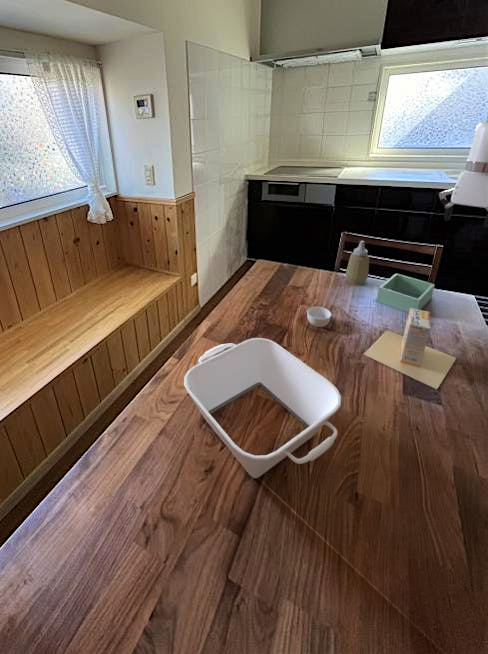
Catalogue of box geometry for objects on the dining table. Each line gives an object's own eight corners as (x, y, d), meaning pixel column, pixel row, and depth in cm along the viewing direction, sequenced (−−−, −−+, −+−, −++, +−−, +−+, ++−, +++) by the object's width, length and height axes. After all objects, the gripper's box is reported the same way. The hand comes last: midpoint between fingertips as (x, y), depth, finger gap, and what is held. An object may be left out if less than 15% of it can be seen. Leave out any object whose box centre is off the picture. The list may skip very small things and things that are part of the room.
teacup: (337, 334, 106) (339, 322, 104) (304, 333, 108) (305, 321, 106) (330, 316, 115) (331, 304, 113) (299, 315, 117) (300, 303, 115)
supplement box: (400, 344, 99) (409, 307, 93) (419, 349, 96) (430, 311, 91) (399, 362, 92) (409, 323, 87) (420, 368, 90) (431, 328, 84)
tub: (360, 453, 71) (370, 409, 65) (266, 536, 58) (269, 490, 53) (251, 361, 97) (252, 325, 92) (171, 405, 85) (167, 366, 80)
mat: (455, 360, 93) (456, 358, 92) (436, 392, 84) (437, 389, 83) (386, 332, 106) (386, 329, 105) (362, 356, 96) (363, 354, 96)
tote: (430, 300, 120) (434, 284, 117) (415, 317, 112) (419, 300, 109) (392, 288, 129) (395, 273, 126) (375, 302, 121) (378, 287, 118)
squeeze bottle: (350, 276, 139) (356, 235, 132) (370, 282, 134) (378, 240, 126) (340, 283, 135) (346, 241, 127) (360, 290, 129) (368, 247, 122)
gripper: (525, 167, 93) (505, 225, 100) (450, 162, 105) (437, 214, 112) (519, 172, 89) (499, 232, 96) (442, 166, 101) (429, 220, 108)
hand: (465, 223), depth 104 cm, fingers open, 9 cm apart
